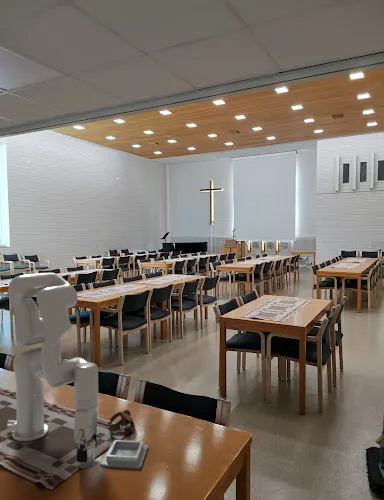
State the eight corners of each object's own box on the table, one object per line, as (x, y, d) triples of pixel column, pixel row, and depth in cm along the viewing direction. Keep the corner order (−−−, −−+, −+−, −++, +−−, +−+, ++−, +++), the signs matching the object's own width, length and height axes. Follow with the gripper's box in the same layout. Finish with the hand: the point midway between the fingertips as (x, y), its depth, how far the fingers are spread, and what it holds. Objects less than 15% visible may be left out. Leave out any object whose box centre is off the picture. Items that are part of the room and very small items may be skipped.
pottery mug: (135, 439, 148) (124, 422, 146) (113, 447, 150) (102, 431, 148) (141, 416, 160) (130, 400, 158) (120, 424, 162) (110, 409, 160)
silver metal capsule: (73, 468, 129) (73, 446, 129) (80, 457, 135) (80, 437, 135) (91, 469, 129) (92, 447, 128) (97, 458, 135) (97, 438, 134)
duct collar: (101, 466, 130) (101, 458, 130) (111, 445, 143) (111, 437, 143) (140, 468, 129) (140, 460, 129) (147, 447, 142) (147, 439, 142)
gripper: (84, 391, 140) (84, 439, 140) (65, 413, 122) (65, 468, 123) (105, 391, 139) (105, 440, 140) (89, 413, 122) (89, 469, 122)
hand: (87, 453), depth 131 cm, fingers open, 9 cm apart
